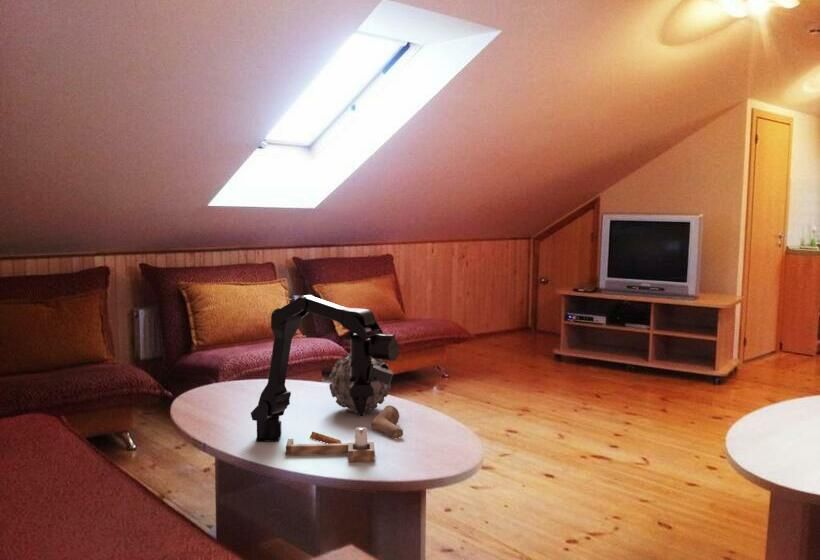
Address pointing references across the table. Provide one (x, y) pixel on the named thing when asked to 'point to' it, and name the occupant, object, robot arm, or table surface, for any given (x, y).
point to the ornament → (342, 383)
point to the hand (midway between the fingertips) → (361, 414)
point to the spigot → (360, 438)
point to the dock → (333, 450)
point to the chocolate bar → (324, 438)
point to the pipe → (388, 422)
